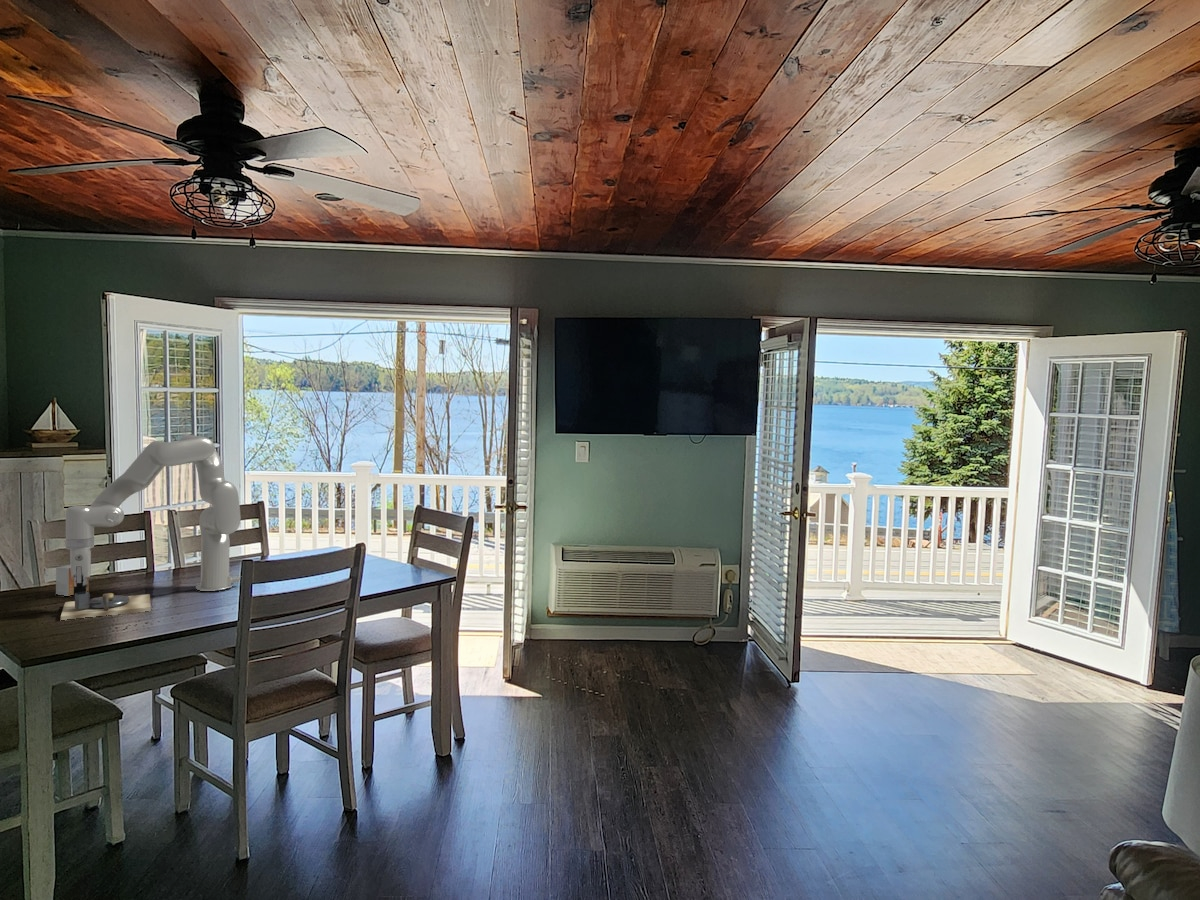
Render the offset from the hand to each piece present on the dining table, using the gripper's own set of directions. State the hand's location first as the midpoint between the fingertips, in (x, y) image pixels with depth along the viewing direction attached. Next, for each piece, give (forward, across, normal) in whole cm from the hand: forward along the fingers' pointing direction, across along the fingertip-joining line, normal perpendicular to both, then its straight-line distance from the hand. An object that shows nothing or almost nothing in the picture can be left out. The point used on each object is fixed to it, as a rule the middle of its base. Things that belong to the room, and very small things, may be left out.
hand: (79, 597), depth 228 cm
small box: (+5, +26, +4) cm, 26 cm away
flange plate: (+3, -1, -6) cm, 7 cm away
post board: (+5, 0, -8) cm, 9 cm away
